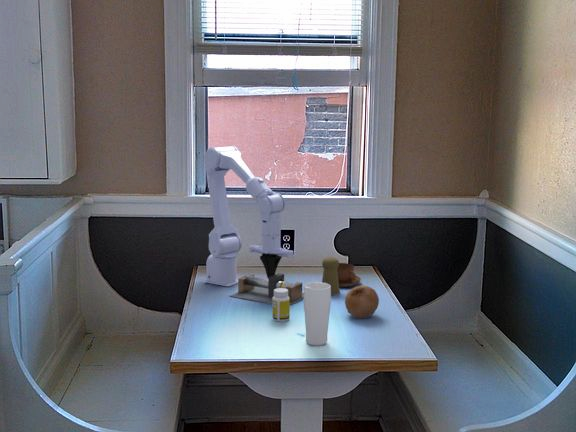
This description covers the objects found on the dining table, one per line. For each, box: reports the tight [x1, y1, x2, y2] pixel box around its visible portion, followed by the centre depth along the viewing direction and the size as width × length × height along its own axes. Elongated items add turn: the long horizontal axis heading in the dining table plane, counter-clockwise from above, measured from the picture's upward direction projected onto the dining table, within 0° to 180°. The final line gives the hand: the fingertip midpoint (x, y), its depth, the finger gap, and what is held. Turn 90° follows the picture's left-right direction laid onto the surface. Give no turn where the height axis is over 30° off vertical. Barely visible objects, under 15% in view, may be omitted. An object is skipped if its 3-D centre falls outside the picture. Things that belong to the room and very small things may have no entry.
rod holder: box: [237, 273, 303, 303], centre depth 223 cm, size 19×6×5 cm, turn 60°
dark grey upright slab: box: [267, 272, 285, 298], centre depth 221 cm, size 2×6×6 cm, turn 150°
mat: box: [229, 287, 304, 306], centre depth 223 cm, size 20×14×1 cm
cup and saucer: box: [337, 262, 361, 288], centre depth 237 cm, size 12×12×6 cm
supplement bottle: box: [271, 288, 291, 323], centre depth 201 cm, size 5×5×8 cm
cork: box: [321, 257, 341, 296], centre depth 226 cm, size 6×6×11 cm
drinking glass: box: [303, 281, 332, 347], centre depth 183 cm, size 7×7×15 cm
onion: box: [344, 285, 380, 319], centre depth 204 cm, size 10×9×10 cm
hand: (270, 277), depth 222 cm, fingers closed
